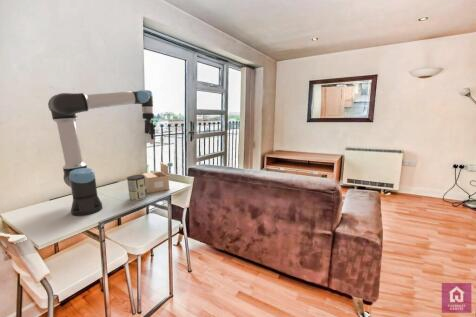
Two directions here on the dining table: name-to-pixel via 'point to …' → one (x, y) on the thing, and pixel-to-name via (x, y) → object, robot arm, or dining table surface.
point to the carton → (156, 182)
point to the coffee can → (136, 187)
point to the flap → (165, 167)
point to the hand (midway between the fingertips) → (150, 143)
